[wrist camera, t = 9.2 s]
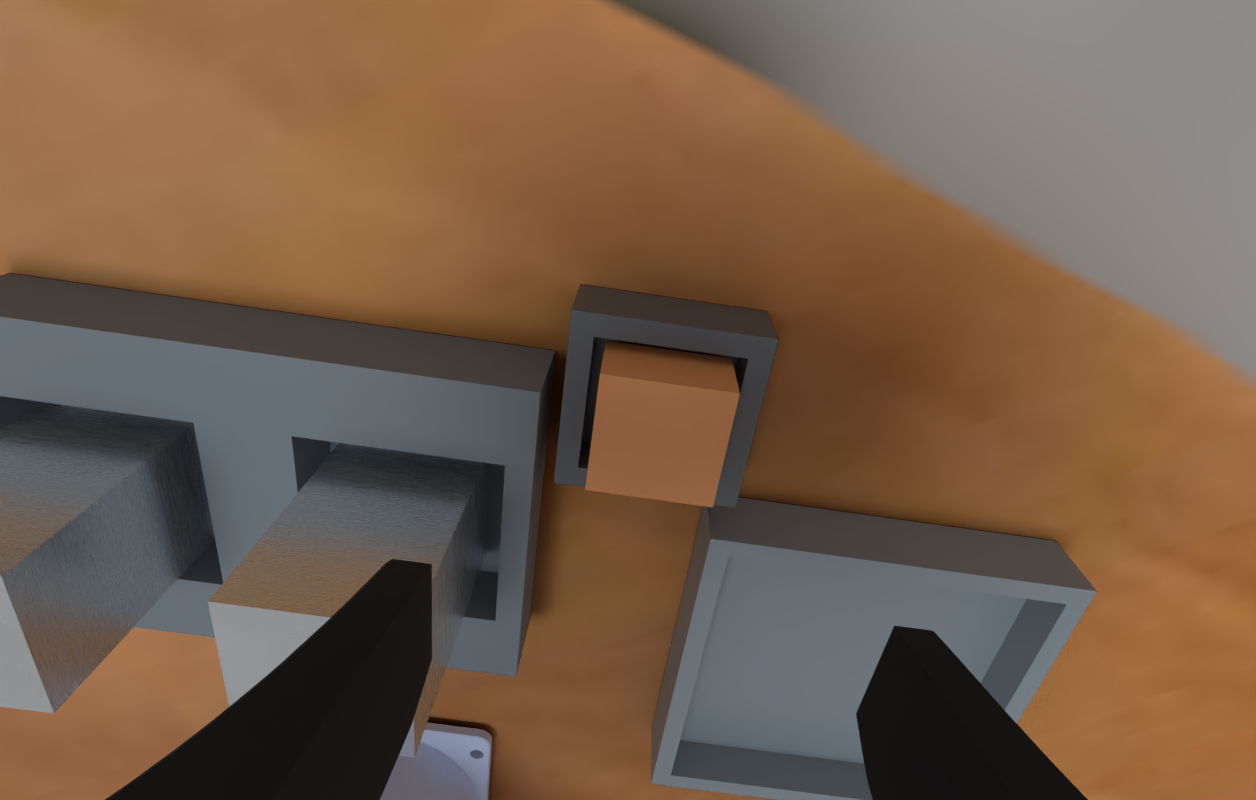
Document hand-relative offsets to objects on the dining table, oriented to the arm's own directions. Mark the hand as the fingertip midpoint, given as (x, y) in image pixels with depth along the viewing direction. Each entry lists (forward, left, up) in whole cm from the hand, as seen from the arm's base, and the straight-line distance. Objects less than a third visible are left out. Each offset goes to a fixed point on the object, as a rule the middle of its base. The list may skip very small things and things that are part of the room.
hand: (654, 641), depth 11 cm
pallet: (-5, +10, -9) cm, 15 cm away
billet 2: (-4, +6, -9) cm, 12 cm away
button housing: (0, 0, -9) cm, 9 cm away
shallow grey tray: (-9, -8, -9) cm, 15 cm away
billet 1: (-5, +14, -9) cm, 18 cm away
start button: (0, 0, -8) cm, 8 cm away
